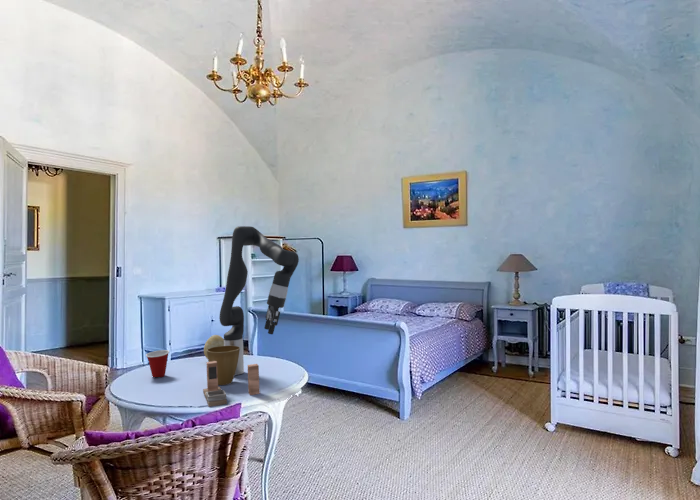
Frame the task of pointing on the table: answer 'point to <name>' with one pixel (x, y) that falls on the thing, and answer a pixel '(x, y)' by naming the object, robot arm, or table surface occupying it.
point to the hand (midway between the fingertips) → (268, 331)
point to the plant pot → (224, 362)
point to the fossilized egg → (213, 343)
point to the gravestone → (213, 387)
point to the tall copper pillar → (253, 379)
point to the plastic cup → (158, 362)
